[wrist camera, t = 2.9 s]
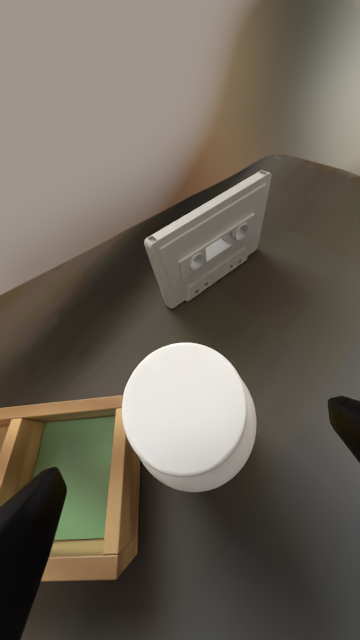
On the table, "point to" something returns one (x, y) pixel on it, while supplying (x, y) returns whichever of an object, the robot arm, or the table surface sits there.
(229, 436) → the supplement bottle
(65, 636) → the table surface
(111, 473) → the tray
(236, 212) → the cassette
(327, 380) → the table surface
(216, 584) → the table surface
